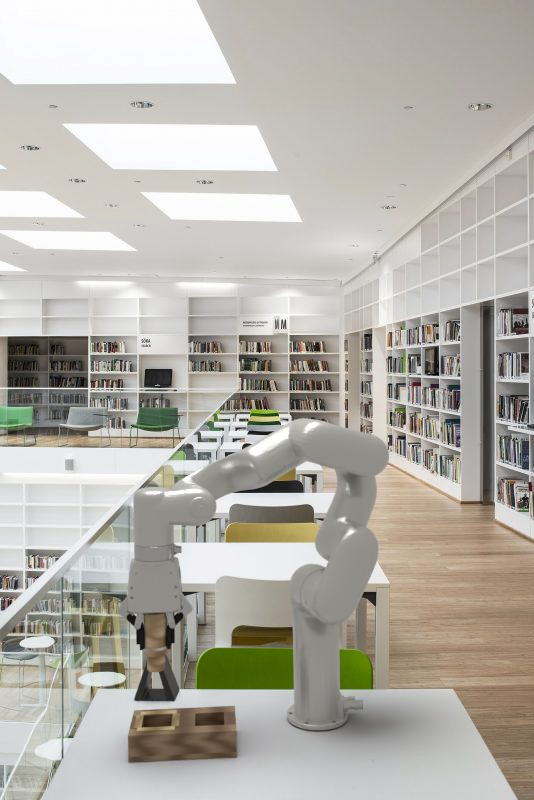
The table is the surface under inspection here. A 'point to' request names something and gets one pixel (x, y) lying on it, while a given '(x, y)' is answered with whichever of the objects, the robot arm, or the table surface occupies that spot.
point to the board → (182, 734)
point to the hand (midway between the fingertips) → (155, 646)
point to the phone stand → (153, 694)
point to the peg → (155, 641)
